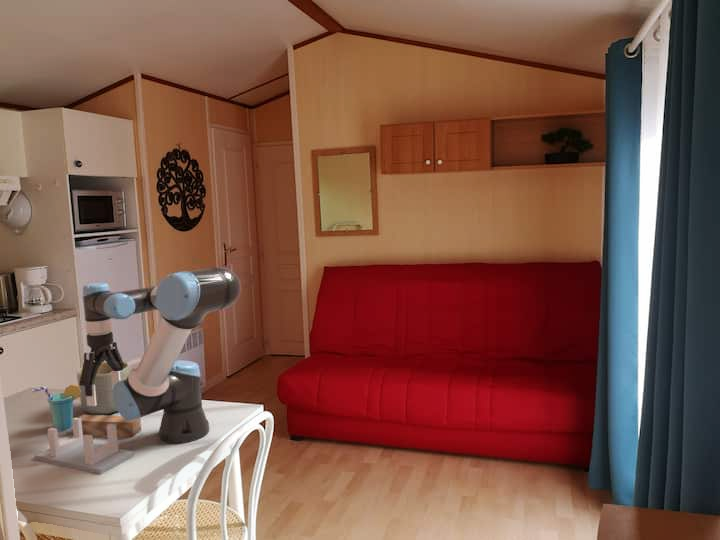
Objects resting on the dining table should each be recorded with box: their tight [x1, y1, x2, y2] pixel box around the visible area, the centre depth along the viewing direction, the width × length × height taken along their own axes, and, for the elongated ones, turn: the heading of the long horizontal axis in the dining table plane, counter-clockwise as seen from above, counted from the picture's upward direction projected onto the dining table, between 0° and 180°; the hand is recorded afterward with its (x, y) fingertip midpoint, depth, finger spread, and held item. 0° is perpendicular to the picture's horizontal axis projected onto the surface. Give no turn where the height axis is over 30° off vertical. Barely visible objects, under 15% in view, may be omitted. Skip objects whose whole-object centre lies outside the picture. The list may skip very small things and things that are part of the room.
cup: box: [31, 384, 81, 432], centre depth 190 cm, size 14×8×15 cm, turn 120°
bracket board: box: [34, 417, 135, 475], centre depth 168 cm, size 26×12×9 cm, turn 66°
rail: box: [78, 414, 142, 438], centre depth 186 cm, size 20×5×5 cm, turn 81°
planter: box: [76, 361, 130, 415], centre depth 206 cm, size 17×17×15 cm
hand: (104, 397), depth 185 cm, fingers open, 13 cm apart
